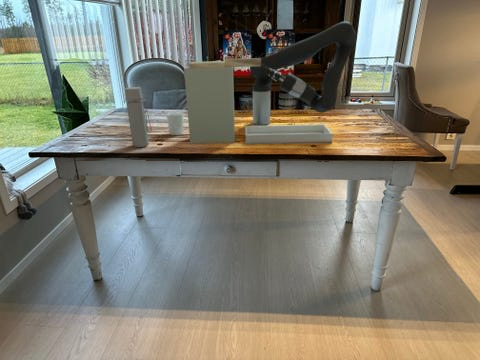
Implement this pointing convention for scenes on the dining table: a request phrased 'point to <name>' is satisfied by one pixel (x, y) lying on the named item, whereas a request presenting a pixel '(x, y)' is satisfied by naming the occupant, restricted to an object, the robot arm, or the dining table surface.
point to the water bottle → (137, 116)
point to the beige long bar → (227, 63)
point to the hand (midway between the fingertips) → (260, 66)
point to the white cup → (175, 123)
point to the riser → (210, 104)
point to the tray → (288, 134)
